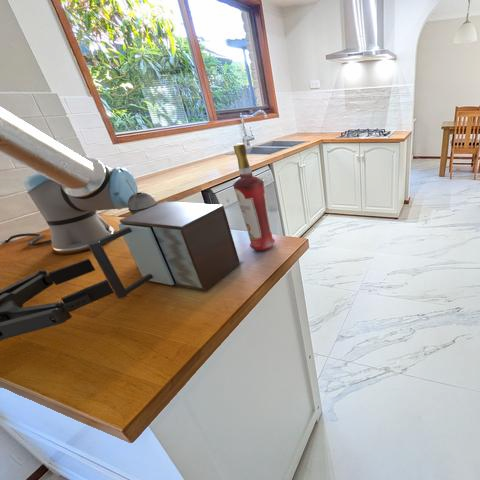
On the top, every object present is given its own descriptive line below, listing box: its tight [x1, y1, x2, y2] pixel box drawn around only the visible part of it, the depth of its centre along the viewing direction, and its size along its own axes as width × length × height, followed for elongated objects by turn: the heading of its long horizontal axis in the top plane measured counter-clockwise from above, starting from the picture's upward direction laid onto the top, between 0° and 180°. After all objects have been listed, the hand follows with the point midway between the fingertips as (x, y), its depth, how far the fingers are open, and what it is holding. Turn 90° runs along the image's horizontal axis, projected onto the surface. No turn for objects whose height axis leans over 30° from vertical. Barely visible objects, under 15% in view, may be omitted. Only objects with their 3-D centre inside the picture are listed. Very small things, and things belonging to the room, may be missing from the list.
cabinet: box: [119, 200, 241, 292], centre depth 69 cm, size 18×12×16 cm, turn 71°
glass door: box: [88, 223, 174, 299], centre depth 61 cm, size 9×8×14 cm
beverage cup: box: [125, 179, 158, 215], centre depth 85 cm, size 7×7×20 cm
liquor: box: [232, 142, 276, 252], centre depth 75 cm, size 7×7×28 cm
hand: (100, 274), depth 58 cm, fingers open, 13 cm apart
